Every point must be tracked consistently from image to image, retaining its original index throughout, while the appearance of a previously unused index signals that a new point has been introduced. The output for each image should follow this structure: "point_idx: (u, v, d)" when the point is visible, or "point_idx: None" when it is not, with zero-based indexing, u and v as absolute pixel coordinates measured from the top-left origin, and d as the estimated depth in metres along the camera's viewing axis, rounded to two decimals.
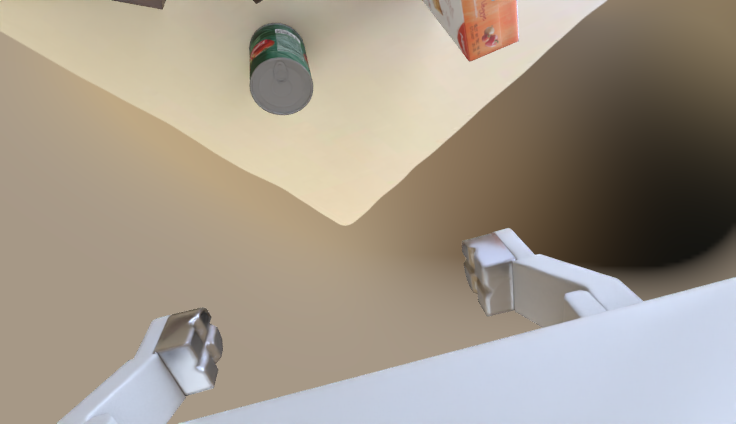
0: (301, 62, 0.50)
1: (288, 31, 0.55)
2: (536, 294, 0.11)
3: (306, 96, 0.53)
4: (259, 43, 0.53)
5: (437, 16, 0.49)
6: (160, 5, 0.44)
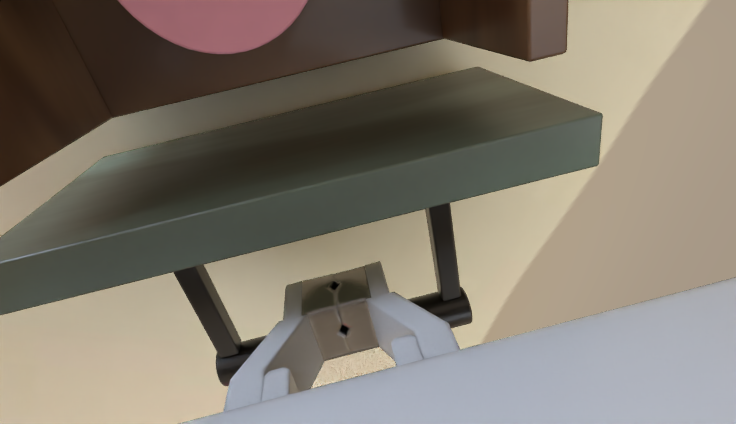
0: None
1: None
2: (388, 333, 0.10)
3: None
4: None
5: None
6: None
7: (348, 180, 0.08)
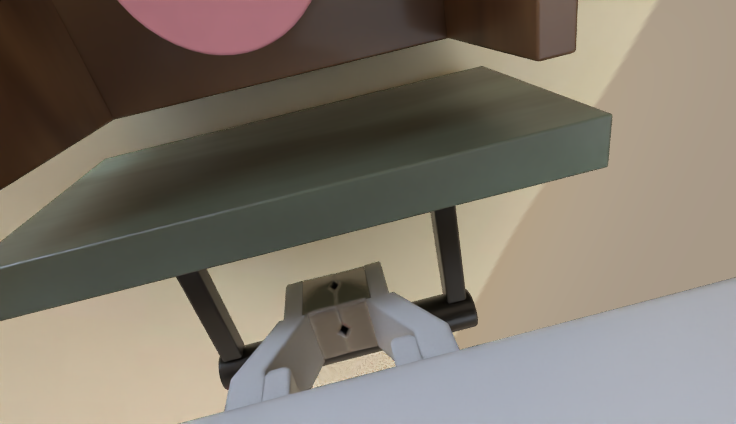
0: None
1: None
2: (387, 333, 0.10)
3: None
4: None
5: None
6: None
7: (353, 183, 0.08)
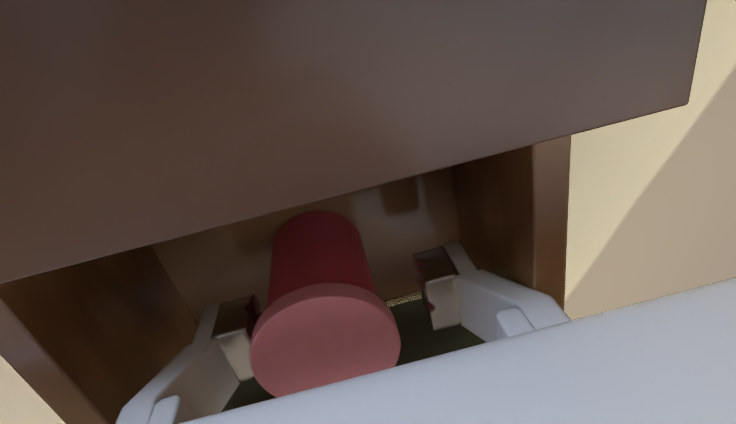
0: None
1: None
2: (478, 309, 0.10)
3: None
4: None
5: None
6: None
7: None
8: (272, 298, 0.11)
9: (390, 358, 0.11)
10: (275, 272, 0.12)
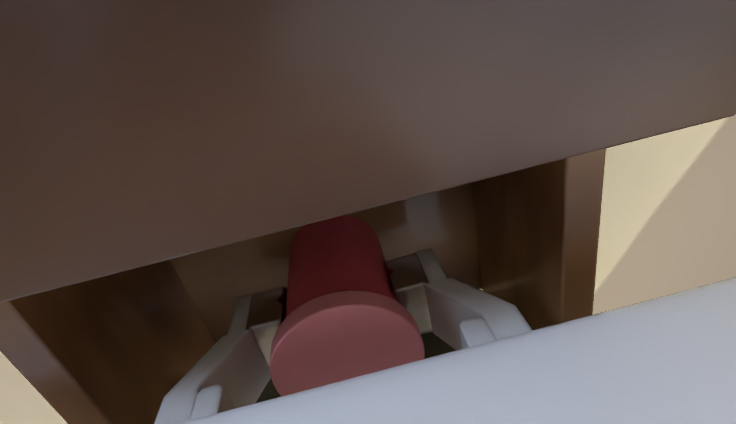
0: None
1: None
2: (446, 317, 0.10)
3: None
4: None
5: None
6: None
7: None
8: (292, 305, 0.10)
9: None
10: (294, 278, 0.11)
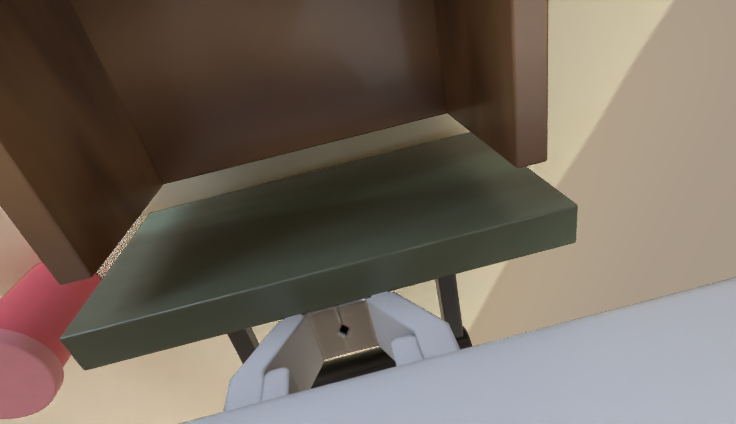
0: None
1: None
2: (388, 333, 0.10)
3: None
4: None
5: None
6: None
7: (373, 260, 0.10)
8: (29, 320, 0.14)
9: (1, 415, 0.14)
10: (48, 302, 0.15)
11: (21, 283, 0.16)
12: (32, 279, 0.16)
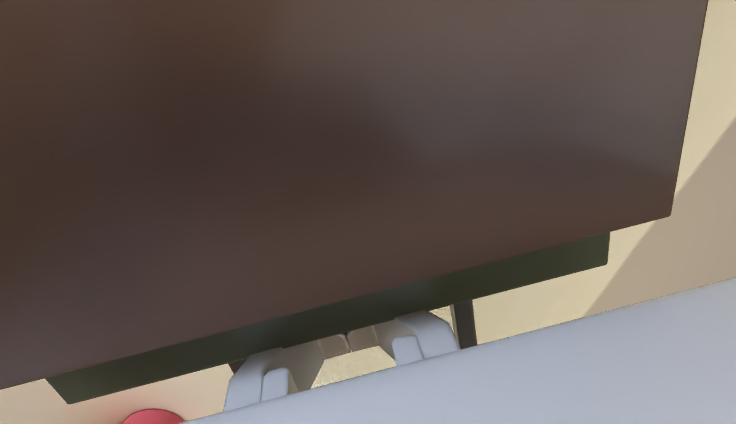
0: None
1: None
2: (388, 333, 0.10)
3: None
4: None
5: None
6: None
7: None
8: None
9: None
10: None
11: None
12: None
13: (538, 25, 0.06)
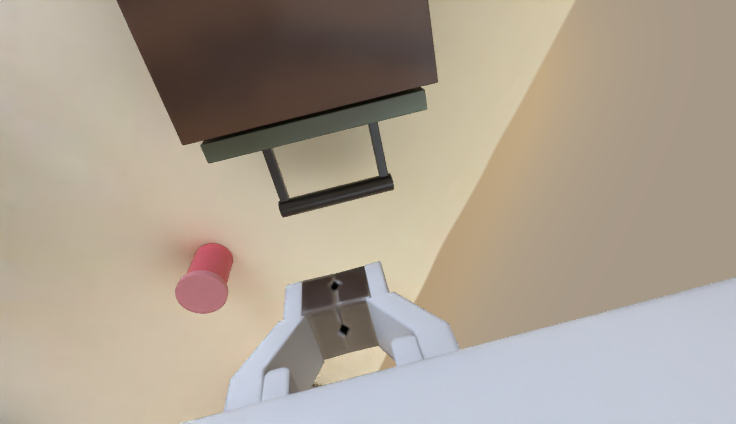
0: None
1: None
2: (388, 333, 0.10)
3: None
4: None
5: None
6: None
7: (335, 113, 0.23)
8: (213, 269, 0.32)
9: (201, 311, 0.32)
10: (217, 262, 0.33)
11: (201, 253, 0.33)
12: (205, 252, 0.34)
13: (374, 11, 0.20)
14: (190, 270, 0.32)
